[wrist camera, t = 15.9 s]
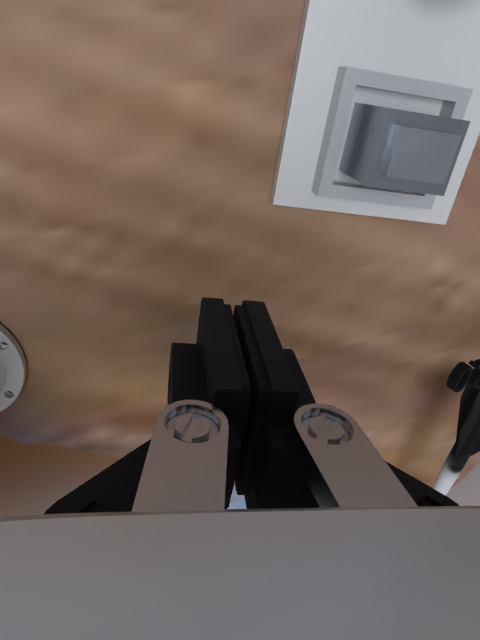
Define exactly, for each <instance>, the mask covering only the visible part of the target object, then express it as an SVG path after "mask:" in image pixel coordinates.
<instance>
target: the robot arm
mask: <svg viewBox="0 0 480 640" xmlns="http://www.w3.org/2000/svg"><path fill="white" fill-rule="evenodd" d="M26 373H27V368H26V360H25V357H24V354H23V351H22V349H21V348H20V346H19V344H18V342H17V341H16V339H15V338H14V337H13V336H12V335H11V334H10V333H9V331H8V330H7V329H5V328H4V327H3V326H2V325H1V324H0V412H2V411H3V410H5V409H6V408H8V407H9V406H10V405H11V404H12V403H13V402H14V401H15V400H16V399H17V397H18V395H19V394H20V392H21V390H22V388H23V385H24V383H25V379H26ZM234 480H235V485H236V491H237V494H238V495H244V496H245V501H246V507H247V509H227V508H228V507H229V503H230V498H231V494H232V491H233V485H234ZM226 509H227V510H226ZM0 640H480V506H459V505H458V504H457V503H455V502H454V501H453V500H451V499H450V498H448V497H447V496H445V495H443V494H442V493H440V492H438V491H436V490H435V489H433V488H431V487H429V486H428V485H426V484H424V483H422V482H421V481H419V480H417V479H415V478H414V477H412V476H410V475H408V474H407V473H405V472H403V471H401V470H400V469H398V468H396V467H394V466H393V465H391V464H389V463H388V462H386V461H385V460H384V459H383V458H382V456H381V455H380V454H379V452H378V451H377V449H376V448H375V447H374V445H373V444H372V443H371V441H370V440H369V438H368V437H367V436H366V434H365V433H364V432H363V430H362V429H361V427H360V426H359V425H358V423H357V422H356V421H355V420H354V419H353V418H352V417H351V416H350V415H349V414H347V413H346V412H344V411H343V410H341V409H338V408H336V407H334V406H330V405H326V404H317V403H316V402H315V400H314V397H313V395H312V393H311V391H310V388H309V386H308V384H307V381H306V379H305V377H304V374H303V372H302V370H301V368H300V365H299V363H298V361H297V358H296V356H295V354H294V352H293V350H291V349H283V348H282V346H281V343H280V341H279V338H278V336H277V333H276V331H275V328H274V326H273V323H272V321H271V318H270V316H269V313H268V311H267V308H266V306H265V303H264V302H258V301H243V303H242V306H241V305H236V306H235V308H234V314H232V310H231V306H230V305H227V304H224V302H223V299H217V298H202V301H201V308H200V316H199V325H198V333H197V342H196V344H187V343H172V345H171V355H170V367H169V380H168V405H167V406H166V407H165V408H164V409H162V410H161V411H160V413H159V415H158V417H157V420H156V423H155V427H154V431H153V434H152V438H151V439H150V440H149V441H147V442H146V443H144V444H143V445H141V446H140V447H138V448H137V449H135V450H134V451H132V452H130V453H129V454H127V455H126V456H124V457H123V458H121V459H120V460H118V461H117V462H115V463H114V464H112V465H111V466H109V467H108V468H106V469H105V470H103V471H102V472H100V473H99V474H97V475H96V476H94V477H93V478H91V479H90V480H88V481H87V482H85V483H84V484H83V485H81V486H79V487H78V488H76V489H75V490H73V491H72V492H70V493H69V494H67V495H66V496H64V497H63V498H61V499H60V500H58V501H57V502H56V503H54V504H53V505H52V506H51V507H50V508H49V509H47V511H46V512H45V513H44V515H26V516H25V513H20V514H16V515H10V516H5V517H0Z"/></svg>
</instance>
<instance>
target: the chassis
mask: <svg viewBox="0 0 480 640" xmlns="http://www.w3.org/2000/svg"><path fill="white" fill-rule="evenodd" d="M355 102H356V103H362V104H368V105H375V106H381V107H387V108H393V109H399V110H405V111H411V112H417V113H424V114H430V115H436V116H442V117H448V118H454V119H460V120H466V121H470V124H469V127H468V130H467V133H466V135H465V138H464V141H463V144H462V147H461V149H460V152H459V155H458V158H457V161H456V163H455V166H454V169H453V172H452V175H451V178H450V180H449V183H448V186H447V189H446V192H445V194H444V196H439V195H431V194H423V193H415V192H407V191H400V190H392V189H384V188H376V187H368V186H365V185H364V184H362V183H360V182H359V181H357V180H355V179H353V178H352V177H350V176H348V175H347V174H345V173H343V172H342V171H340V170H339V167H340V163H341V159H342V155H343V151H344V146H345V142H346V138H347V134H348V130H349V126H350V121H351V117H352V113H353V109H354V105H355ZM479 133H480V0H306V1H305V7H304V13H303V18H302V24H301V30H300V35H299V41H298V47H297V52H296V58H295V64H294V69H293V75H292V81H291V86H290V92H289V98H288V103H287V109H286V115H285V120H284V126H283V131H282V137H281V143H280V148H279V154H278V160H277V165H276V171H275V177H274V182H273V188H272V194H271V199H270V201H271V203H272V204H273V205H281V206H289V207H298V208H307V209H315V210H324V211H333V212H341V213H350V214H358V215H367V216H376V217H384V218H393V219H402V220H410V221H419V222H428V223H436V224H445V225H446V222H447V219H448V216H449V214H450V211H451V208H452V206H453V203H454V200H455V198H456V195H457V192H458V189H459V187H460V184H461V181H462V179H463V176H464V173H465V171H466V168H467V165H468V162H469V160H470V157H471V154H472V152H473V149H474V146H475V144H476V141H477V138H478V135H479Z"/></svg>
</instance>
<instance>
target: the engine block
mask: <svg viewBox="0 0 480 640" xmlns="http://www.w3.org/2000/svg"><path fill="white" fill-rule="evenodd" d="M469 124H470V121H466V120H460V119H454V118H448V117H442V116H436V115H430V114H424V113H417V112H411V111H405V110H399V109H393V108H387V107H381V106H375V105H368V104H362V103H356V102H355V105H354V109H353V113H352V117H351V121H350V126H349V130H348V134H347V138H346V142H345V146H344V151H343V155H342V159H341V163H340V167H339V170H340V171H342V172H343V173H345V174H347V175H348V176H350V177H352V178H353V179H355V180H357V181H359V182H360V183H362V184H364V185H365V186H368V187H376V188H384V189H392V190H400V191H407V192H415V193H423V194H431V195H439V196H444V194H445V192H446V189H447V186H448V183H449V180H450V178H451V175H452V172H453V169H454V166H455V163H456V161H457V158H458V155H459V152H460V149H461V147H462V144H463V141H464V138H465V135H466V133H467V130H468V127H469Z"/></svg>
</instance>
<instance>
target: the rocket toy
mask: <svg viewBox="0 0 480 640" xmlns="http://www.w3.org/2000/svg"><path fill="white" fill-rule="evenodd" d="M469 364H470V365H472V366H473V367H475V369H474V370H473V368H472V367H470V366H469V365H467V364H466V363H464V362H460V363H458V364H457V365H456V366H455V367H454V369H453V370H452V372H451V373H450V375H449V378H448V380H447V386H448V387H449V388H450V389H452V390H453V391H454V392H459V391H461V390H462V389H463V388H464V387H465V385H466V384H467V385H466V387H465V389H464V392H463V394H462V396H461V400H460V409H459V418H458V428H457V437H456V442H455V444H454V446H453V448H452V450H451V452H450V453H449V455H448V457H447V459H446V461H445V463H444V464H443V466H442V468H441V470H440V472H439V474H438V477H437V479H436V481H435V483H434V485H433V487H432V488H433V489H435V490H436V491H438V492H440V493H442V494H443V495H445V496H446V494H447V493H448V491H449V490H450V488H451V487H452V485H453V484H454V482H455V480H456V479H457V477H458V476H459V474H460V472H461V471H462V469H463V467H464V465H465V464H466V462H467V460H468V458H469V457H470V456H471V455H473V454H475V453H477V452H479V451H480V359H478V360H475V362H474V361H472V360H471V361H470V362H469ZM467 382H468V383H467Z"/></svg>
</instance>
